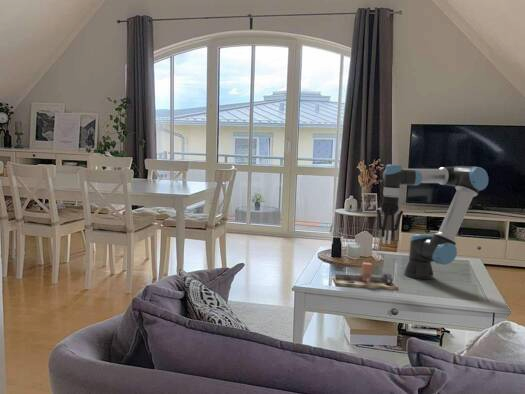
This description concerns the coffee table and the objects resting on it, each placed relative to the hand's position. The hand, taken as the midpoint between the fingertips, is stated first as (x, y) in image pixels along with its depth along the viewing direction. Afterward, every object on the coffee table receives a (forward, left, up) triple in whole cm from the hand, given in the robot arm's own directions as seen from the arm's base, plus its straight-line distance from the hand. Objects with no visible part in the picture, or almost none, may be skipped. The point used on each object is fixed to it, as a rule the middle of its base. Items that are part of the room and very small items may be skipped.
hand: (386, 243), depth 239 cm
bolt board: (+10, +2, -20) cm, 23 cm away
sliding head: (+8, +2, -19) cm, 21 cm away
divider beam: (+10, +2, -20) cm, 23 cm away
